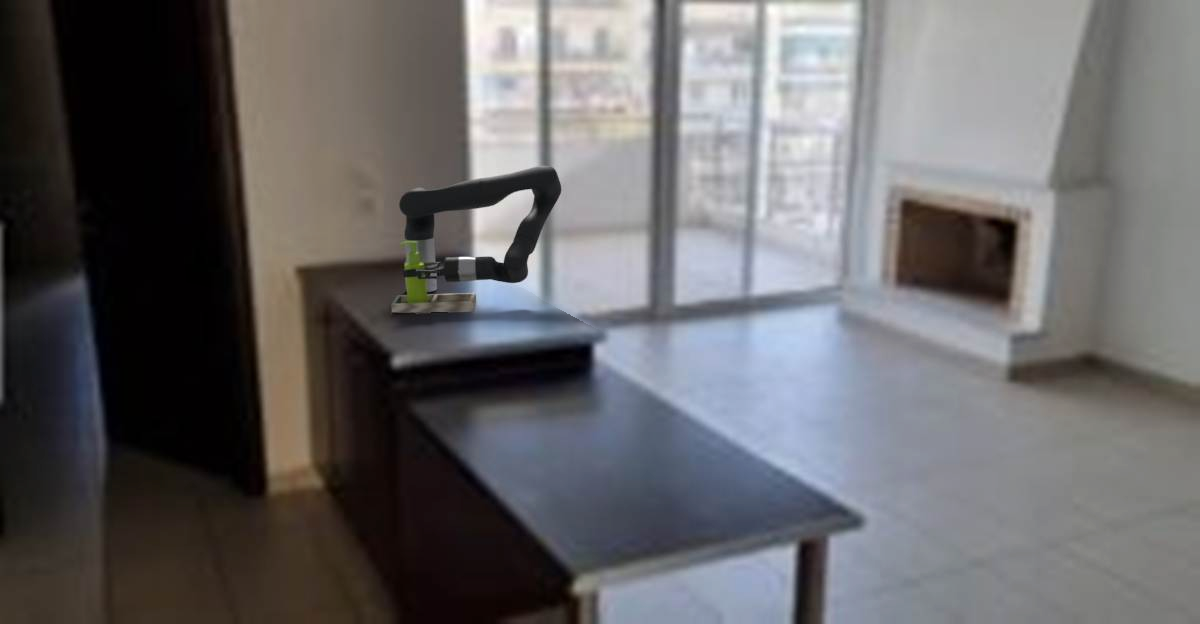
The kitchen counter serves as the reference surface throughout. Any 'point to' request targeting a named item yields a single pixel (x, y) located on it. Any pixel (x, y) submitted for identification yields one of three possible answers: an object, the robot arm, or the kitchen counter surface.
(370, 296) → the kitchen counter surface
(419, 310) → the caddy
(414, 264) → the soap dispenser
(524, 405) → the kitchen counter surface
